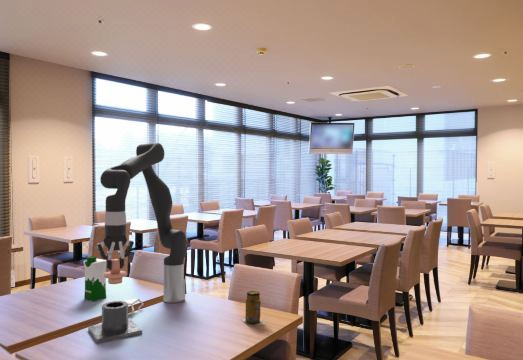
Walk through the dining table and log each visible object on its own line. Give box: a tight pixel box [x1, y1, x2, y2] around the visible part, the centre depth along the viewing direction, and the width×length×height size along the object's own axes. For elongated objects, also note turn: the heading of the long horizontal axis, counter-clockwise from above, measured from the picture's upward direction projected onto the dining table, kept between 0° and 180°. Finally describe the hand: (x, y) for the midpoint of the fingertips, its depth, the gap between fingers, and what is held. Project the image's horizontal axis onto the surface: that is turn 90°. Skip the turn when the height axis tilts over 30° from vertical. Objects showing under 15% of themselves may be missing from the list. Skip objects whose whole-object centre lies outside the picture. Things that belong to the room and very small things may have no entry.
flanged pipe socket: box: [87, 300, 143, 344], centre depth 159 cm, size 16×14×10 cm
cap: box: [104, 258, 127, 285], centre depth 159 cm, size 8×8×8 cm
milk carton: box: [82, 255, 107, 302], centre depth 200 cm, size 9×9×20 cm
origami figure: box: [123, 298, 144, 316], centre depth 181 cm, size 12×8×5 cm
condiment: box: [240, 290, 267, 327], centre depth 172 cm, size 7×8×12 cm
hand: (115, 268), depth 159 cm, fingers closed on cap, 3 cm apart
